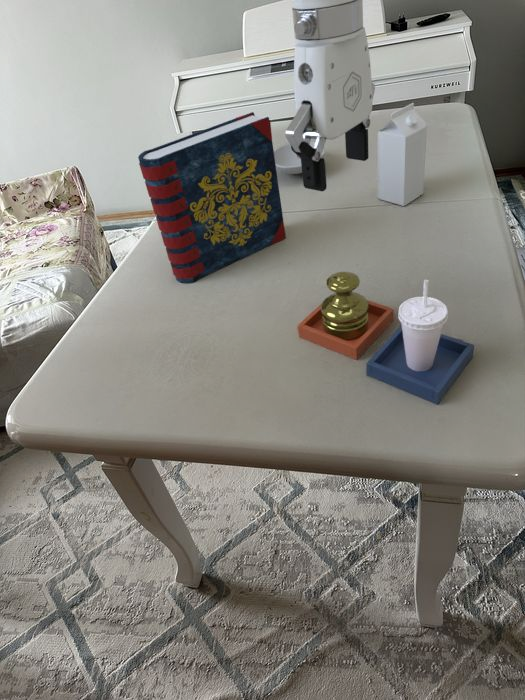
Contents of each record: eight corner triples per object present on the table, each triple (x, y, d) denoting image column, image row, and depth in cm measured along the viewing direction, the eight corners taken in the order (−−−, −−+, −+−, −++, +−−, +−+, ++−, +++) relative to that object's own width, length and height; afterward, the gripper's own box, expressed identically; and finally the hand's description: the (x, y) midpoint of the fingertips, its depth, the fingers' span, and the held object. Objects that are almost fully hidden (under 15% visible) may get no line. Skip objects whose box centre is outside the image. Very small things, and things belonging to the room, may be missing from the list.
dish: (323, 184, 127) (322, 164, 124) (266, 188, 130) (263, 169, 127) (328, 156, 140) (327, 137, 137) (276, 160, 143) (274, 142, 140)
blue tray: (472, 357, 76) (474, 344, 74) (437, 404, 70) (439, 392, 68) (403, 332, 82) (404, 321, 80) (366, 375, 76) (366, 363, 75)
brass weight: (329, 310, 88) (325, 259, 82) (373, 315, 85) (372, 263, 79) (317, 338, 83) (311, 286, 77) (363, 344, 80) (361, 291, 74)
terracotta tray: (393, 320, 84) (393, 308, 83) (356, 360, 79) (356, 348, 77) (336, 301, 91) (336, 290, 89) (298, 336, 85) (297, 325, 83)
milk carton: (377, 199, 117) (377, 111, 105) (397, 187, 120) (399, 100, 108) (403, 207, 112) (406, 116, 100) (423, 194, 116) (428, 104, 103)
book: (183, 288, 101) (146, 164, 85) (168, 274, 106) (130, 154, 90) (287, 238, 110) (271, 117, 94) (269, 228, 114) (251, 110, 98)
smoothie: (449, 355, 76) (458, 275, 67) (433, 383, 72) (440, 302, 63) (407, 343, 79) (410, 265, 70) (389, 369, 75) (390, 291, 66)
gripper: (309, 43, 50) (322, 207, 61) (398, 2, 59) (396, 151, 70) (251, 43, 54) (273, 196, 65) (343, 5, 63) (349, 145, 74)
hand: (336, 173), depth 68 cm, fingers open, 9 cm apart
